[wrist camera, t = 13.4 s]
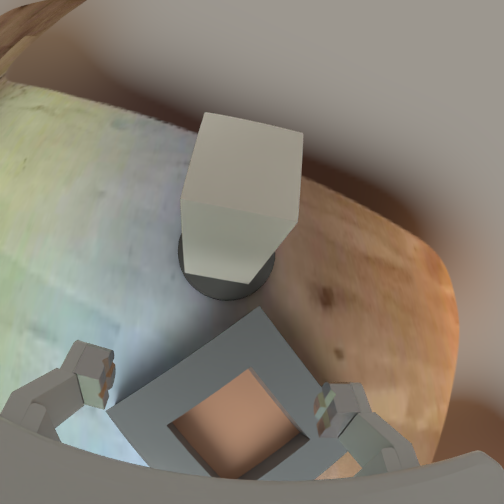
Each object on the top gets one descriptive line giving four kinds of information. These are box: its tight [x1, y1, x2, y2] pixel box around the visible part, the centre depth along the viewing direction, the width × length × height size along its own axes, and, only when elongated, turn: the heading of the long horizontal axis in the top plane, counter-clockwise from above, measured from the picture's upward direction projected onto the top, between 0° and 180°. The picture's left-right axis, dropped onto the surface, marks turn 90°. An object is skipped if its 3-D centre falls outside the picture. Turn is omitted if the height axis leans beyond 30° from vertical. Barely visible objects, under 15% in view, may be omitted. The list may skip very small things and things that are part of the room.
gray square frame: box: [106, 306, 348, 481], centre depth 18 cm, size 12×12×2 cm
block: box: [180, 112, 303, 284], centre depth 18 cm, size 4×4×11 cm
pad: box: [178, 234, 275, 300], centre depth 23 cm, size 7×7×1 cm
